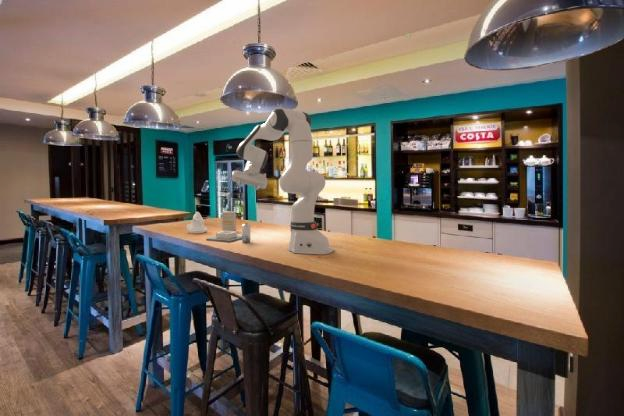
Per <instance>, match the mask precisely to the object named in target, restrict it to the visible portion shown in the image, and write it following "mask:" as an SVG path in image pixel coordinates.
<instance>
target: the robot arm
mask: <svg viewBox="0 0 624 416" xmlns="http://www.w3.org/2000/svg"><path fill="white" fill-rule="evenodd" d="M311 126H312V118H311V116H310V114H309V113H307V112H305V111H299V110H293V109H286V108H284V107H277V108H275V109H273V110H272V111H271V113H269V116H268V118H267V120H266V121H265V123H262V124H257V125H256V126H255V127H254V128H253V129H252V130H251V131H250V133H249V134H248V135H247V136H246V137H245V138H244V139H243V140H242V141H241V142H240V143H239V145H238V146H237V148H236V152H235V153H236V155H237V157H238V158H239V159H242V160H245V161H247V162H246V163H245V166H244V169H243V171H241V170H238V169H237V170H232V173H231V177H230V180H231V181H232V182H235V183H236V184H237V186H239V187H241V185H247V186H250V187H251V186H252V187H253V188H254V190H255V191H258V189H262V190H265V189H266V188H267V185H268V178H267V173H264V172H263V171H261V170H262V169H264V168H265V167H266V165H267V163H268V158H269V156H268V155H269V154H268V152H267V151H266V150H264V149H262V148H260V147H258V146H255V145H253V143H254V141H255V140H266V141H271V142H272V141H277V140H279V139H280V138H281V137H282V136H283V135H284V133H285V132H288V134H289V162H288V166H287V168H286V169H285V171H284V172H283V173H282V174H281V175H280V178H279V187H280V189H281V190H282V191H283V192H284V193H289V194H291V195H293V194H294V195H295V194H297V195H298V194H299V195H298V198H297V200H296V201H295V202H294V203H293V204H292V205H291V221H290V239H289V245H288V248H287V250H288V251H290V252H292V254H303V255H305V254H307V255H328V254H331V253H332V252H334V248H333V247H331V246H330V242H329V239H328V237H327V236H326V235H324V234H323V233H322V232H321V231H320V230H319V229H318V226H319V223H318V222H316V221H315V206H316V202H317V198H318V197H319V195H320V193H321V192H322V191H323V190H324V188H325V187H326V179H325V176H324V174H322V173H320V172H318V171H313V170H312V171H311V170H306V169H307V165H308V164H309V163H310V162H311V161H312V160H313V157H314V152H313V151H314V150H313V137H312V131H311V130H312V129H311Z"/></svg>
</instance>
